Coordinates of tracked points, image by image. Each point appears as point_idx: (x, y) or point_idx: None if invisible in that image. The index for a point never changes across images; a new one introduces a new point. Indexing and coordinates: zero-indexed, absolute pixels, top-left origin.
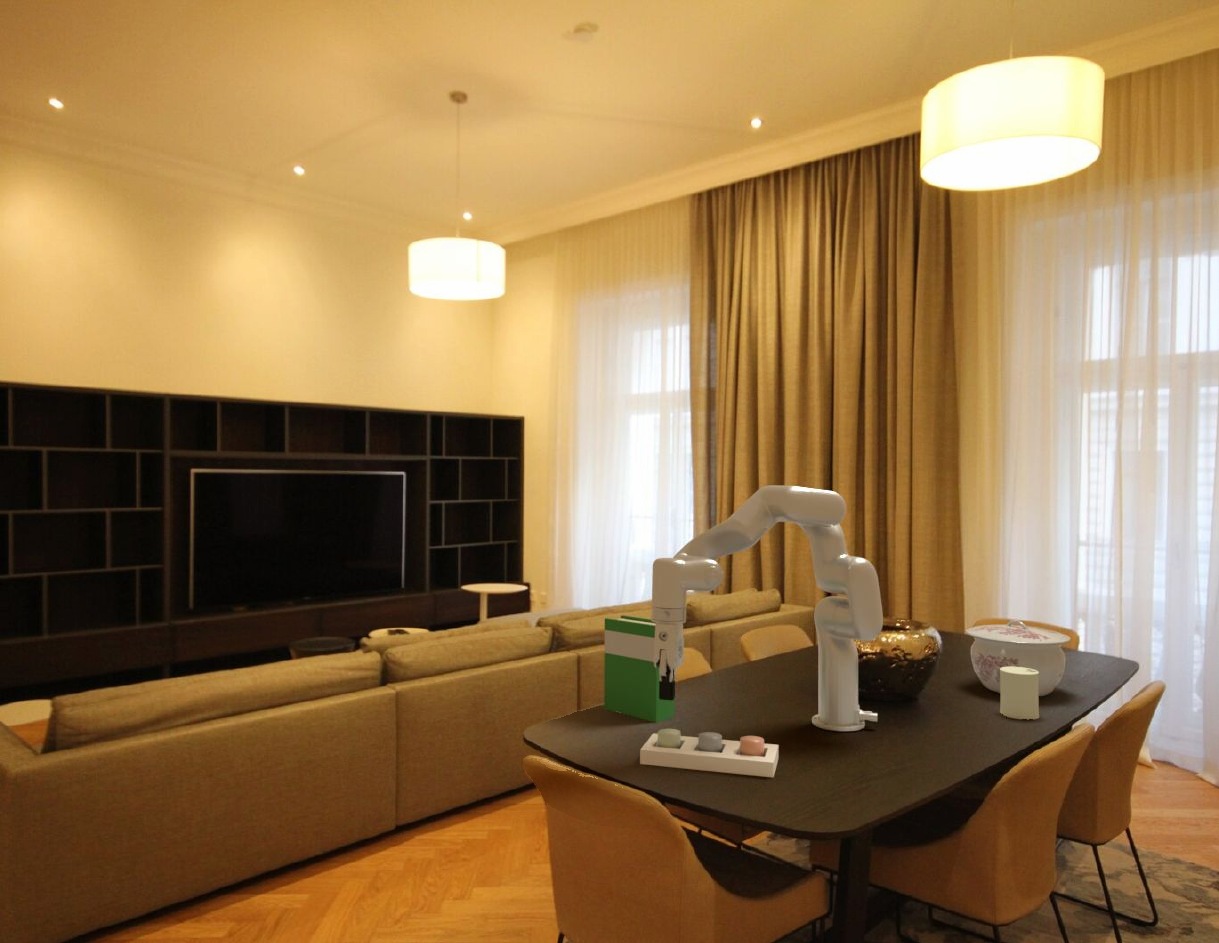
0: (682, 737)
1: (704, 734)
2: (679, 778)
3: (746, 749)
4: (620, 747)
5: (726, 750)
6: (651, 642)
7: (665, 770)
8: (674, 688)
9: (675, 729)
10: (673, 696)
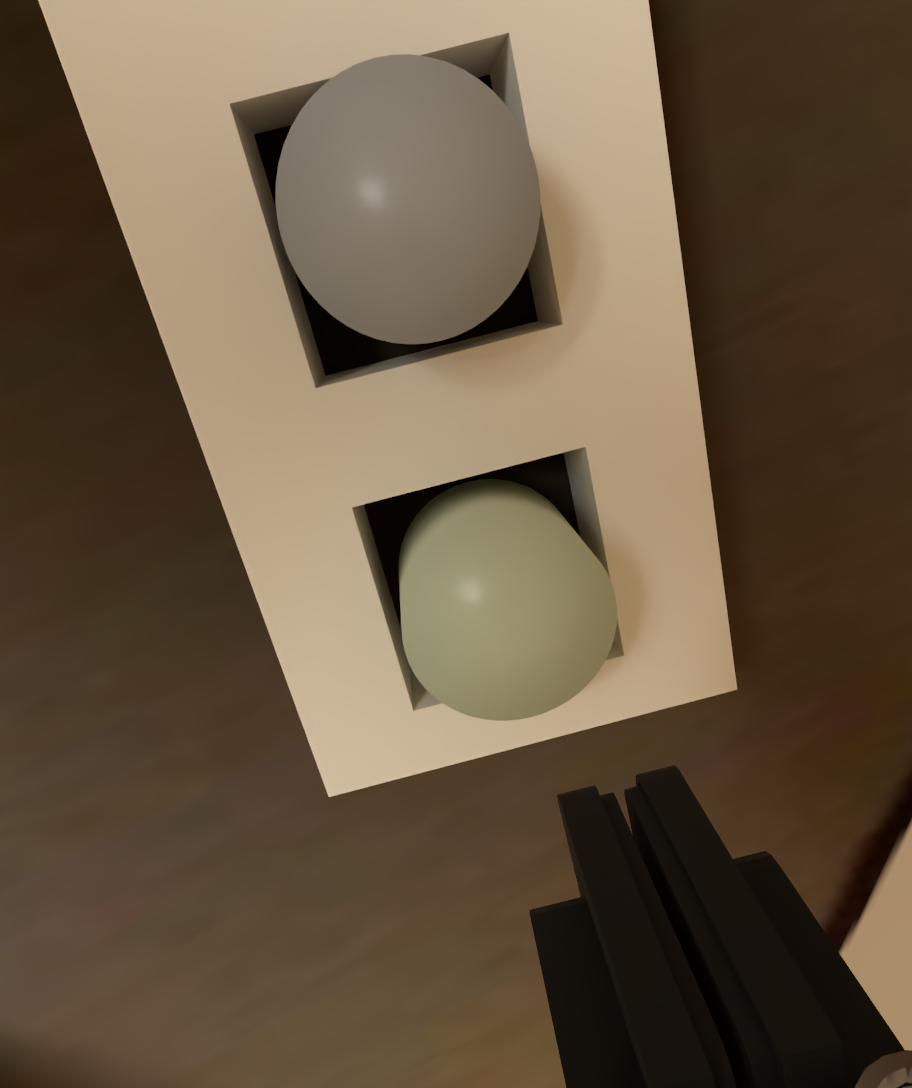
0: (286, 565)
1: (406, 283)
2: (855, 285)
3: None
4: (464, 881)
5: (412, 16)
6: None
7: (742, 446)
8: (645, 918)
9: (407, 612)
10: (686, 798)
